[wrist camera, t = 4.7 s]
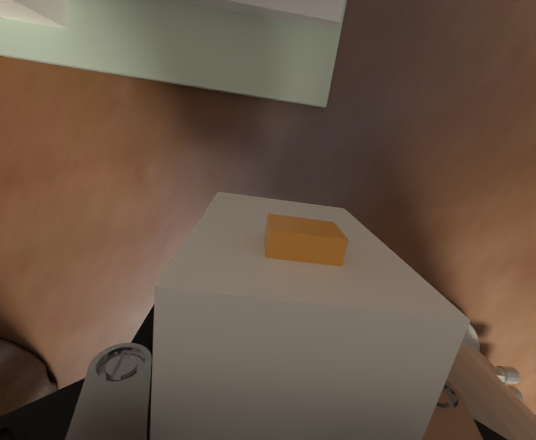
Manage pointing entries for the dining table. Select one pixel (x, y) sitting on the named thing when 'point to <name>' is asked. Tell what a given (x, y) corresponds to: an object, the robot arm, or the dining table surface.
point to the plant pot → (21, 378)
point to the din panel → (186, 42)
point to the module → (295, 330)
